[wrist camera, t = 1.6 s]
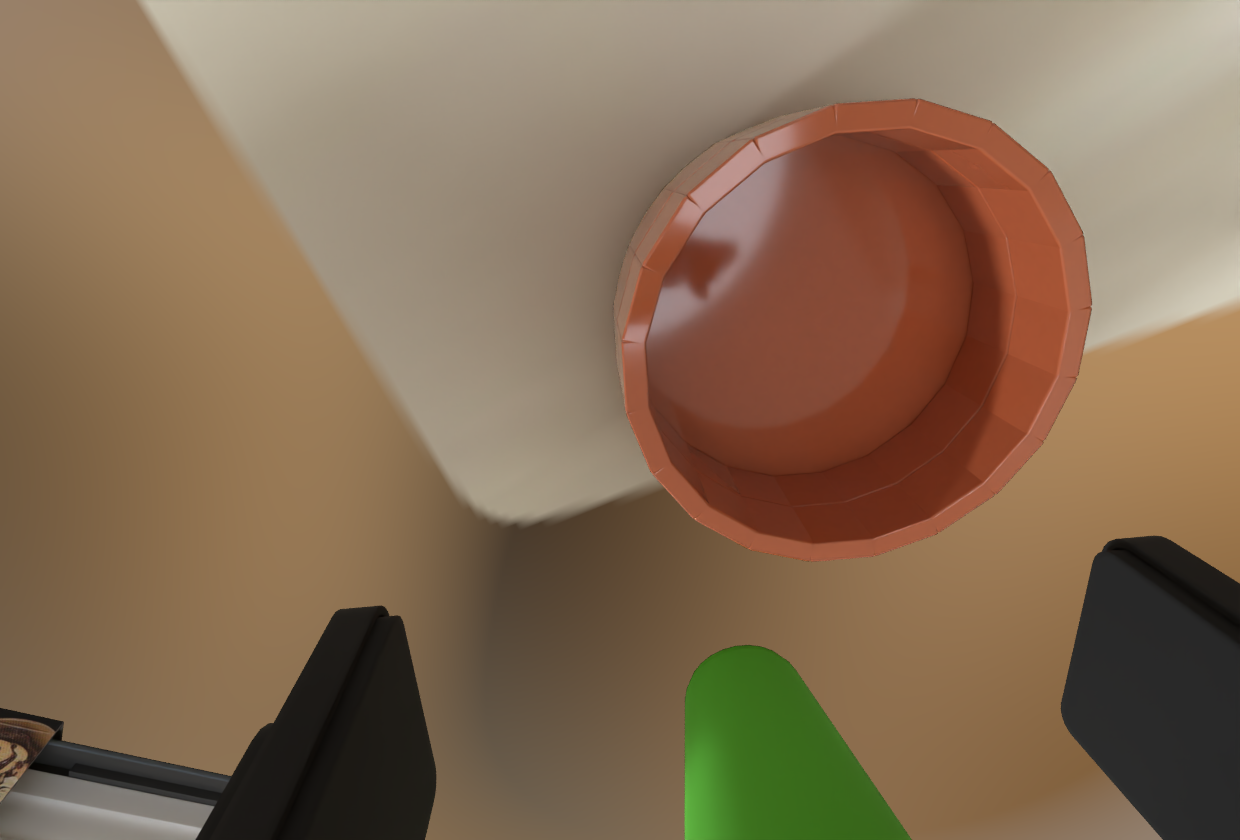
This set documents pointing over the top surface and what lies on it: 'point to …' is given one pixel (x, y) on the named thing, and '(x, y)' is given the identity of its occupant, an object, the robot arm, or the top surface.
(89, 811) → the cake box
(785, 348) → the bowl
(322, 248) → the top surface
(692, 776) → the cup
